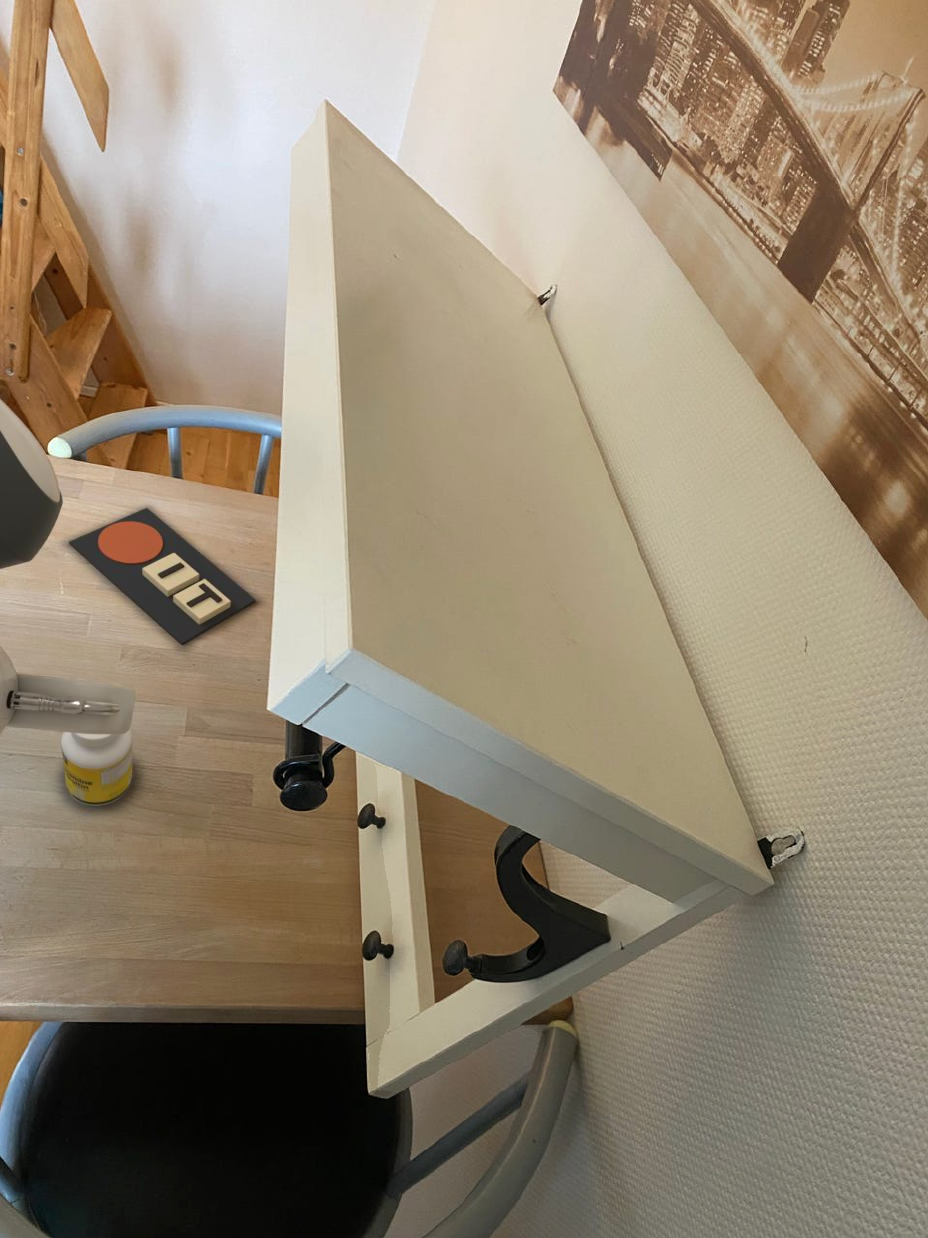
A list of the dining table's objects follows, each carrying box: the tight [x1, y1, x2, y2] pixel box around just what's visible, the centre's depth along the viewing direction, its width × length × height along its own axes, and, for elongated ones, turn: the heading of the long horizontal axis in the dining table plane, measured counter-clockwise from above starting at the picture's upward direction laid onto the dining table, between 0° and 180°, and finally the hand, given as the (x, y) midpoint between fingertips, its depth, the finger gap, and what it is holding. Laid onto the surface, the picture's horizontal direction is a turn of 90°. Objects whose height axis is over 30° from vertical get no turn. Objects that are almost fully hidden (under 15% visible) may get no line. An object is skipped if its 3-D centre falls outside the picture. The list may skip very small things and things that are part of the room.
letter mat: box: [68, 507, 257, 646], centre depth 107 cm, size 22×12×2 cm, turn 52°
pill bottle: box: [60, 727, 133, 806], centre depth 83 cm, size 6×6×12 cm
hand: (20, 698), depth 65 cm, fingers open, 8 cm apart
